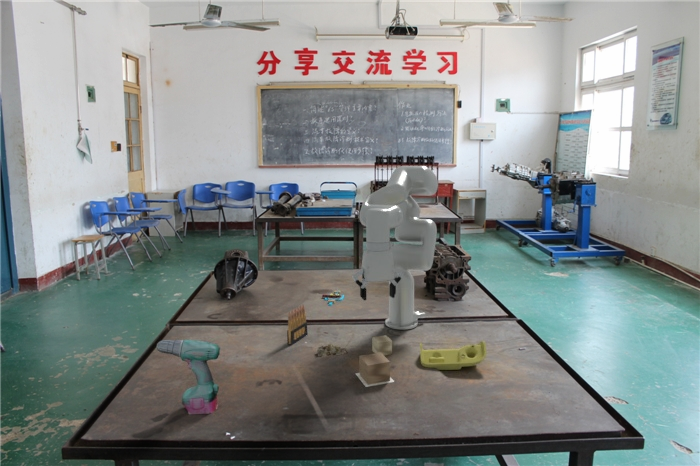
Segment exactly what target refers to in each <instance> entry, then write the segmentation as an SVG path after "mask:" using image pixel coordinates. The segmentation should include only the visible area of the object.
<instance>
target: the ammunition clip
mask: <svg viewBox="0 0 700 466" xmlns="http://www.w3.org/2000/svg"><path fill="white" fill-rule="evenodd" d="M287 319H288V320H287V331H286V334H287V335H286V336H287V345H290V346H293V345H295V344H296V343H297V342H299V341H301V340H303V338H305V337H306V335H307V336H308V322H307V315H306V307H305V304H303V303H302V305H300V306H299V307H296V308H294V310H293V309H292V310H291V311H289V312H288V318H287Z"/></svg>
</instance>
